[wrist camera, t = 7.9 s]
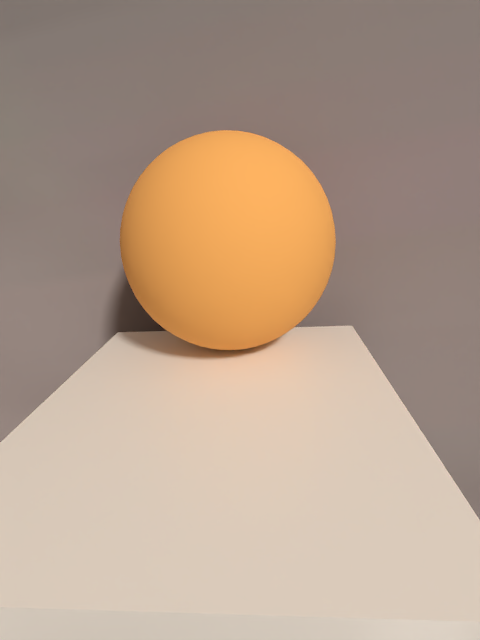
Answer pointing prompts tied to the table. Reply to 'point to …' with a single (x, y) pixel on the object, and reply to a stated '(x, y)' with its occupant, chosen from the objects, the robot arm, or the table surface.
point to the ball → (227, 240)
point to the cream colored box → (232, 501)
